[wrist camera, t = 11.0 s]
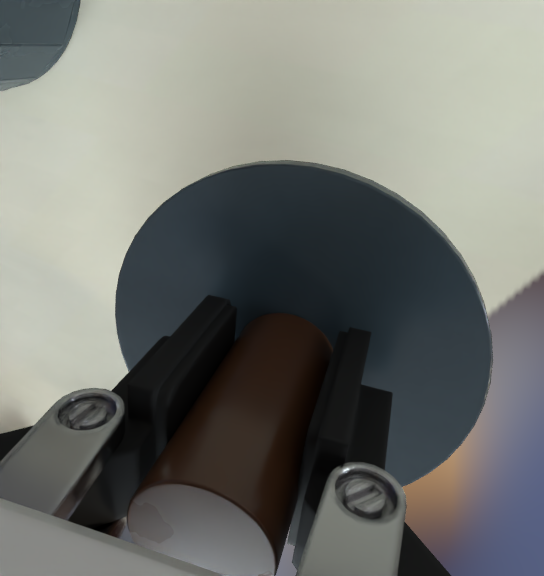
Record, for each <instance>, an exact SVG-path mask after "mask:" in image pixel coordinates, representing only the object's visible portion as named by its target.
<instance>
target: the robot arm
mask: <svg viewBox="0 0 544 576" xmlns="http://www.w3.org/2000/svg"><path fill="white" fill-rule="evenodd" d="M236 316H237V308H236V307H235V306H231V302H230V300H229V299H225V298H221V297H216V296H212V295H208V296H206V297H205V298H204V300H203V301H202V302H201V303H200V304H199V305H198V306H197V307H196V308H195V310H194V311H193V312H192V313H191V314H190V315H189V316H188V317H187V318H186V320H185V321H184V322H183V323H182V324H181V325H180V326H179V327H178V328H177V330H176V331H175V332H174V333H173V334H172V335H171V336H163V337H162V338H160V339H159V340H158V341H157V343H156V344H155V345H154V346H153V347H152V348H151V349H150V350H149V351H148V352H147V353H146V354H145V355H144V357H143V358H142V359H141V360H140V361H139V362H138V363H137V364H136V365H135V366H134V367H133V368H132V369H131V370H130V372H129V373H128V374H127V375H126V376H125V377H124V378H123V379H122V380H121V381H120V382H119V383H118V384H117V386H116V387H115V388H114V389H113V390H112V391H109V390H106V389H99V388H89V389H82V390H78V391H74V392H72V393H70V394H68V395H65V396H63V397H62V398H61V399H60V400H58V401H57V402H56V403H55V404H54V405H53V406H52V407H51V408H50V409H49V410H48V411H47V412H46V413H45V414H44V415H43V417H42V418H41V419H40V420H39V421H38V422H37V423H36V424H35V425H34V426H31V427H27V428H23V429H19V430H15V431H11V432H7V433H3V434H0V576H225V575H222V574H220V573H217V572H214V571H211V570H208V569H205V568H202V567H200V566H197V565H194V564H191V563H188V562H185V561H182V560H179V559H176V558H174V557H171V556H168V555H165V554H162V553H159V552H156V551H153V550H151V549H148V548H145V547H142V546H139V545H136V544H133V543H130V542H127V541H124V540H122V539H120V537H121V535H122V533H123V531H124V529H125V528H126V525H127V509H128V505H129V502H130V500H131V498H132V496H133V495H134V493H135V492H136V490H137V489H138V487H139V486H140V484H141V483H142V481H143V480H144V478H145V477H146V475H147V474H148V472H149V471H150V469H151V468H152V466H153V465H154V463H155V462H156V460H157V459H158V457H159V456H160V454H161V453H162V451H163V450H164V448H165V447H166V445H167V443H168V442H169V440H170V439H171V437H172V436H173V434H174V433H175V431H176V430H177V428H178V427H179V425H180V424H181V422H182V421H183V419H184V418H185V416H186V415H187V413H188V412H189V410H190V409H191V407H192V406H193V404H194V403H195V401H196V400H197V398H198V397H199V395H200V394H201V392H202V391H203V389H204V388H205V386H206V385H207V383H208V382H209V380H210V379H211V377H212V376H213V374H214V373H215V371H216V370H217V368H218V367H219V365H220V364H221V362H222V361H223V359H224V358H225V356H226V354H227V353H228V351H229V350H230V348H231V347H232V345H233V344H234V341H235V329H236ZM370 337H371V332H369V331H365V330H360V329H356V328H352V327H349V330H348V333H347V332H343V331H339V334H338V337H337V340H336V343H335V347H334V350H333V353H332V356H331V359H330V362H329V365H328V368H327V372H326V375H325V378H324V381H323V384H322V387H321V390H320V394H319V397H318V400H317V403H316V406H315V409H314V412H313V415H312V419H311V422H310V425H309V429H308V432H307V437H306V441H305V446H304V451H303V457H302V463H301V468H300V474H299V480H298V500H297V503H296V507H295V510H294V514H293V517H292V521H291V525H290V531H289V536H288V544H291V545H294V546H295V549H294V555H293V560H292V563H293V565H294V566H295V568H296V569H297V573H296V576H451V575H450V574H449V573H448V571H447V570H446V569H445V568H444V567H443V566H442V565H441V563H440V562H439V561H438V560H437V559H436V558H435V556H434V555H433V554H432V553H431V552H430V551H429V549H428V548H427V547H426V546H425V545H424V544H423V543H422V541H421V540H420V539H419V538H418V537H417V536H416V534H415V533H414V532H413V531H412V530H411V529H410V527H409V526H408V525H407V524H406V523H405V522H404V520H405V514H406V496H405V493H404V491H403V489H402V486H401V485H400V484H399V483H398V481H397V480H396V479H395V478H394V477H393V476H392V475H390V474H389V473H388V472H386V471H385V464H386V454H387V444H388V435H389V425H390V416H391V406H392V396H393V393H392V392H389V391H385V390H381V389H377V388H373V387H369V386H365V385H361V382H362V377H363V372H364V367H365V362H366V357H367V352H368V347H369V342H370Z"/></svg>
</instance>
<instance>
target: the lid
mask: <svg viewBox="0 0 544 576" xmlns="http://www.w3.org/2000/svg"><path fill="white" fill-rule="evenodd" d="M208 295H212V296H216V297H221V298H225V299H229V300H230V302H231V306H235V307H236V308H237V316H236V329H235V341H234V344H233V345H232V347H231V348H230V350H229V351H228V353H227V354H226V356H225V358H224V359H223V361H222V362H221V364H220V365H219V367H218V368H217V370H216V371H215V373H214V374H213V376H212V377H211V379H210V380H209V382H208V383H207V385H206V386H205V388H204V389H203V391H202V392H201V394H200V395H199V397H198V398H197V400H196V401H195V403H194V404H193V406H192V407H191V409H190V410H189V412H188V413H187V415H186V416H185V418H184V419H183V421H182V422H181V424H180V425H179V427H178V428H177V430H176V431H175V433H174V434H173V436H172V437H171V439H170V440H169V442H168V443H167V445H166V447H165V448H164V450H163V451H162V453H161V454H160V456H159V457H158V459H157V460H156V462H155V463H154V465H153V466H152V468H151V469H150V471H149V472H148V474H147V475H146V477H145V478H144V480H143V481H142V483H141V484H140V486H139V487H138V489H137V490H136V492H135V493H134V495H133V496H132V498H131V500H130V502H129V505H128V509H127V526H128V529H129V533H130V535H131V538H132V540H133V542H134V544H136V545H139V546H142V547H145V548H148V549H151V550H153V551H156V552H159V553H162V554H165V555H168V556H171V557H174V558H176V559H179V560H182V561H185V562H188V563H191V564H194V565H197V566H200V567H202V568H205V569H208V570H211V571H214V572H217V573H220V574H222V575H225V576H275V575H276V572H277V569H278V565H279V562H280V558H281V555H282V552H283V548H284V545H285V541H286V538H287V534H288V531H289V527H290V524H291V521H292V517H293V514H294V510H295V507H296V503H297V500H298V480H299V474H300V468H301V463H302V457H303V451H304V446H305V441H306V437H307V432H308V429H309V425H310V422H311V419H312V415H313V412H314V409H315V406H316V403H317V400H318V397H319V394H320V390H321V387H322V384H323V381H324V378H325V375H326V372H327V368H328V365H329V362H330V359H331V356H332V353H333V350H334V347H335V343H336V340H337V337H338V334H339V331H343V332H347V333H348V330H349V327H352V328H356V329H360V330H365V331H369V332H371V337H370V342H369V347H368V352H367V357H366V362H365V367H364V372H363V377H362V382H361V385H365V386H369V387H373V388H377V389H381V390H385V391H389V392H392V393H393V396H392V406H391V416H390V425H389V435H388V444H387V454H386V464H385V471H386V472H388V473H389V474H390V475H392V476H393V477H394V478H395V479H396V480H397V481H398V483H399V484H400V485H401V486H402V487H403V486H405V485H408V484H410V483H412V482H414V481H416V480H418V479H419V478H421V477H423V476H425V475H426V474H428V473H430V472H431V471H432V470H434V469H435V468H436V467H438V466H439V465H440V464H441V463H443V462H444V461H445V460H447V459H448V458H449V457H450V456H451V455H452V454H453V452H454V451H455V450H456V449H457V448H458V447H459V446H460V445H461V444H462V443H463V441H464V440H465V438H466V437H467V436H468V434H469V433H470V431H471V430H472V428H473V427H474V425H475V423H476V421H477V419H478V417H479V415H480V413H481V411H482V409H483V406H484V404H485V400H486V397H487V393H488V390H489V386H490V382H491V373H492V363H493V354H492V353H493V352H492V336H491V330H490V326H489V322H488V317H487V313H486V308H485V304H484V301H483V298H482V295H481V293H480V290H479V288H478V285H477V283H476V280H475V278H474V276H473V274H472V273H471V271H470V269H469V267H468V266H467V264H466V262H465V260H464V259H463V257H462V255H461V254H460V252H459V251H458V250H457V249H456V247H455V246H454V245H453V244H452V242H451V241H450V240H449V239H448V237H447V236H446V235H445V233H444V232H443V231H442V230H441V229H440V228H439V227H438V226H437V225H436V224H434V223H433V222H432V221H431V220H430V219H429V218H428V217H427V216H426V215H425V214H424V213H423V212H422V211H420V210H419V209H418V208H416V207H415V206H414V205H412V204H411V203H409V202H408V201H407V200H405V199H404V198H403V197H401V196H400V195H398V194H397V193H395V192H393V191H391V190H389V189H387V188H386V187H384V186H382V185H380V184H378V183H376V182H374V181H373V180H370V179H368V178H365V177H362V176H360V175H357V174H354V173H352V172H349V171H346V170H344V169H339V168H335V167H331V166H327V165H322V164H318V163H311V162H301V161H291V160H280V161H259V162H254V163H248V164H243V165H237V166H233V167H230V168H227V169H224V170H221V171H218V172H215V173H212V174H210V175H208V176H206V177H204V178H202V179H200V180H198V181H196V182H194V183H192V184H190V185H188V186H186V187H185V188H183V189H181V190H180V191H179V192H177V193H176V194H175V195H173V196H172V197H170V198H169V199H168V200H166V201H165V202H164V203H163V204H162V205H161V206H160V207H159V208H158V209H157V210H156V211H155V212H154V213H153V214H152V215H151V216H150V217H149V218H148V219H147V220H146V221H145V223H144V224H143V226H142V227H141V228H140V230H139V231H138V233H137V234H136V235H135V237H134V239H133V241H132V243H131V245H130V247H129V249H128V251H127V253H126V255H125V258H124V261H123V264H122V267H121V270H120V274H119V278H118V284H117V290H116V305H115V317H116V326H117V335H118V339H119V343H120V347H121V351H122V355H123V358H124V360H125V363H126V366H127V368H128V371H129V372H130V370H131V369H132V368H133V367H134V366H135V365H136V364H137V363H138V362H139V361H140V360H141V359H142V358H143V357H144V355H145V354H146V353H147V352H148V351H149V350H150V349H151V348H152V347H153V346H154V345H155V344H156V343H157V341H158V340H159V339H160V338H162V337H163V336H171V335H172V334H173V333H174V332H175V331H176V330H177V328H178V327H179V326H180V325H181V324H182V323H183V322H184V321H185V320H186V318H187V317H188V316H189V315H190V314H191V313H192V312H193V311H194V310H195V308H196V307H197V306H198V305H199V304H200V303H201V302H202V301H203V300H204V298H205V297H206V296H208Z"/></svg>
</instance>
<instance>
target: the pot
mask: <svg viewBox="0 0 544 576" xmlns="http://www.w3.org/2000/svg"><path fill="white" fill-rule="evenodd" d="M79 6H80V0H0V91H4V90H7V89H9V88H12V87H18V86H21V85H25V84H28V83H30V82H32V81H34V80H36V79H38V78H39V77H41V76H42V75H43V74H45V73H46V72H47V71H48V70H49V69H50V68H51V67H52V66H53V65H54V64H55V63H56V62H57V61H58V59H59V58H60V56H61V55H62V53H63V52H64V50H65V49H66V47H67V45H68V42H69V40H70V38H71V36H72V33H73V30H74V27H75V24H76V21H77V16H78V11H79Z"/></svg>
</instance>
